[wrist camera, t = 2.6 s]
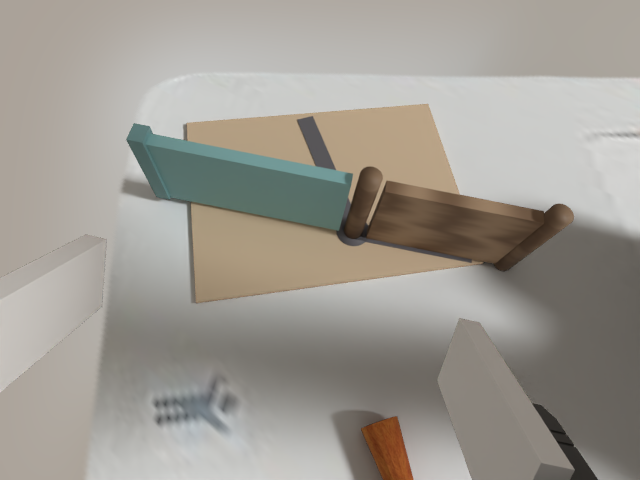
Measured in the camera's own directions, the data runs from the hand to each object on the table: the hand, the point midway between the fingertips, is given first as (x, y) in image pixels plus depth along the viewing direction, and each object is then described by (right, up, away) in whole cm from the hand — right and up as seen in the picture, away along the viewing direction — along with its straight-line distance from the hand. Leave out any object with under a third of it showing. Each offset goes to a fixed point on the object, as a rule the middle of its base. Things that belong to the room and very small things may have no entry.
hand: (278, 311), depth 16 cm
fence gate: (-6, +6, +30) cm, 31 cm away
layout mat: (+2, +8, +32) cm, 34 cm away
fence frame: (+13, +2, +30) cm, 33 cm away
